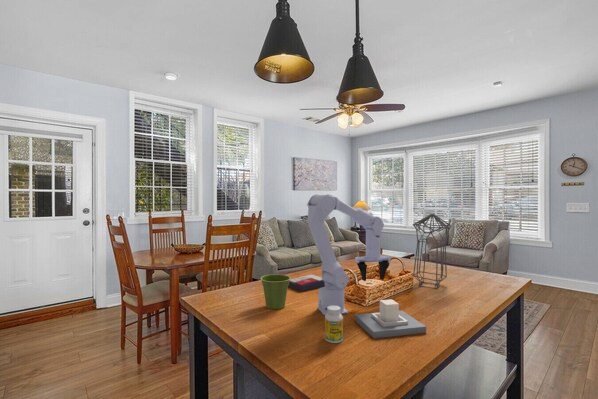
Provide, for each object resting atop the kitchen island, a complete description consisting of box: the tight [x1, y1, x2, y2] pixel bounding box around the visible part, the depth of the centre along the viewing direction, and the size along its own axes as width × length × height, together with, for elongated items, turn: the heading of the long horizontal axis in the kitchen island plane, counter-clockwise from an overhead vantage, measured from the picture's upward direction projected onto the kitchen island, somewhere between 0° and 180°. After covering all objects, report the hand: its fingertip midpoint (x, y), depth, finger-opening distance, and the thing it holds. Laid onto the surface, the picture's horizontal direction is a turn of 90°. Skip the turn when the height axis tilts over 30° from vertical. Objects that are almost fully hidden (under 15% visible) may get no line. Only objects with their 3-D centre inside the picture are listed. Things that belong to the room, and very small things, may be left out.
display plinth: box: [354, 310, 427, 339], centre depth 101 cm, size 18×14×3 cm
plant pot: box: [259, 273, 292, 311], centre depth 119 cm, size 12×12×11 cm
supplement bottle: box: [324, 305, 344, 344], centre depth 92 cm, size 5×5×10 cm
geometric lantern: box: [412, 213, 452, 290], centre depth 148 cm, size 16×16×35 cm
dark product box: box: [288, 274, 325, 293], centre depth 146 cm, size 11×4×15 cm
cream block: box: [379, 298, 400, 322], centre depth 101 cm, size 4×4×6 cm
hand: (372, 279), depth 123 cm, fingers open, 7 cm apart
